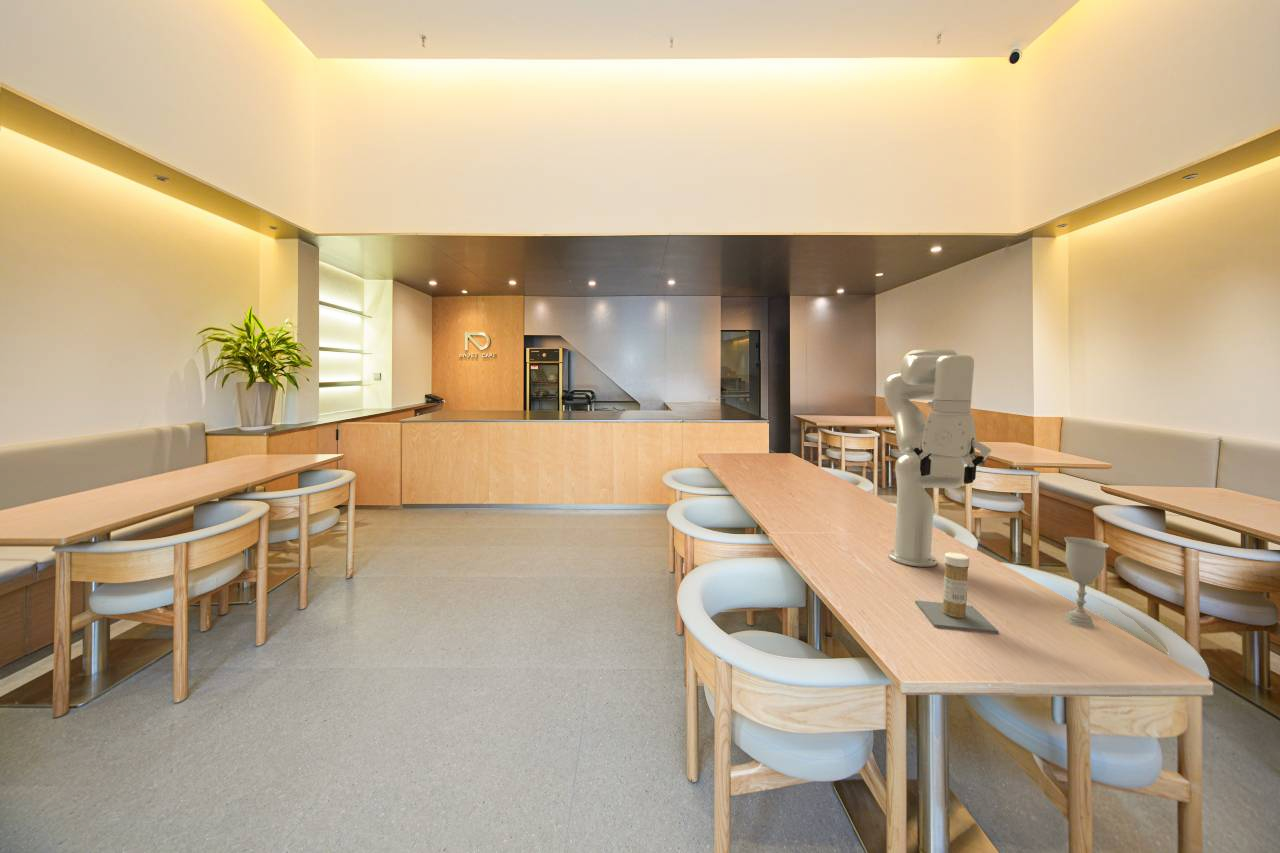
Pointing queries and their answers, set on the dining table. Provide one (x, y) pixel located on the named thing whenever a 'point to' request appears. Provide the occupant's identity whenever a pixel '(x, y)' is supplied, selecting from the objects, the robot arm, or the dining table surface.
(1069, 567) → the chalice
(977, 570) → the dining table surface
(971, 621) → the slate mat
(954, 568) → the sprinkles bottle
